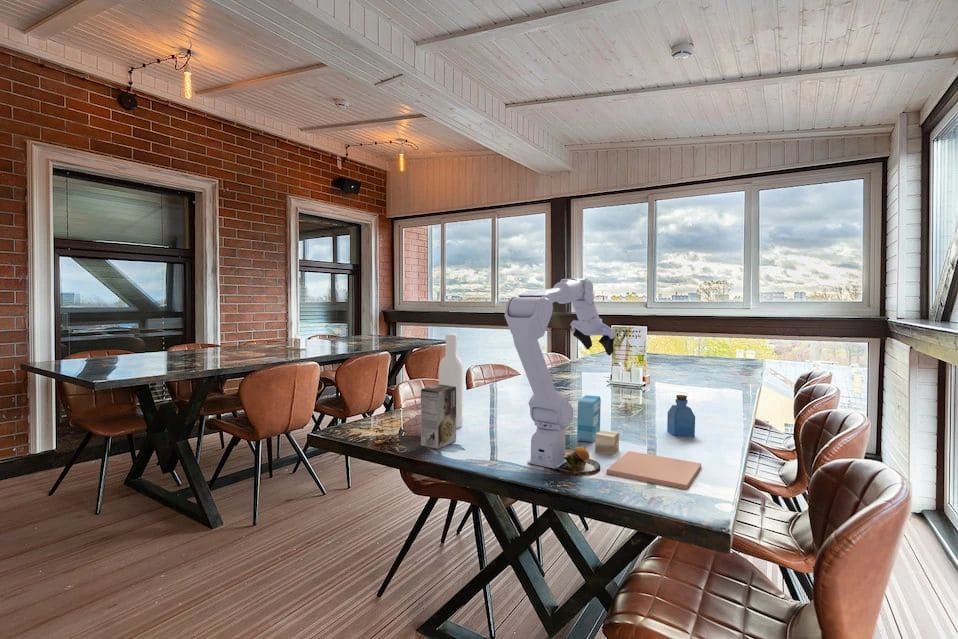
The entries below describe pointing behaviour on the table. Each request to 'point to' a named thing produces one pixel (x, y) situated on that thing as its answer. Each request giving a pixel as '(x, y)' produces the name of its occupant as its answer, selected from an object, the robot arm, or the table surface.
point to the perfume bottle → (681, 419)
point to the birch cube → (607, 442)
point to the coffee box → (438, 416)
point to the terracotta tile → (655, 469)
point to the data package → (588, 418)
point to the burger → (580, 462)
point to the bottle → (453, 374)
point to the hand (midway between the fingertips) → (599, 350)
